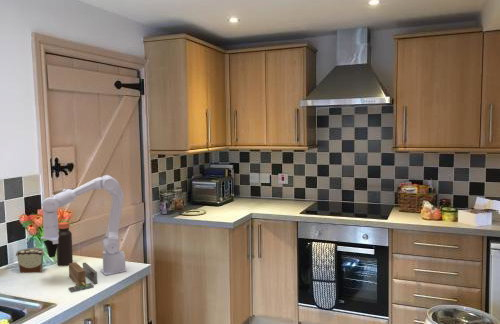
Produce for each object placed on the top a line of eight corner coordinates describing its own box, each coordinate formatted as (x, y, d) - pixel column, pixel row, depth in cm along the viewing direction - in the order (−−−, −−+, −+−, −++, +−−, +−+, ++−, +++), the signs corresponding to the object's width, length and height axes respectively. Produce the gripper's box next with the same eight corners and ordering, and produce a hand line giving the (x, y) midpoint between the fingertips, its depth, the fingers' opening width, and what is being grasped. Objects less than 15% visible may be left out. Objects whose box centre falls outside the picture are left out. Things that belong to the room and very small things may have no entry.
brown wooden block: (76, 275, 189) (75, 262, 189) (88, 287, 176) (88, 273, 175) (69, 276, 188) (68, 263, 187) (81, 288, 174) (80, 274, 173)
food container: (50, 268, 199) (49, 247, 198) (44, 272, 193) (43, 251, 192) (23, 268, 199) (22, 247, 198) (16, 273, 193) (15, 251, 192)
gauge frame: (85, 273, 193) (85, 262, 192) (99, 286, 178) (99, 274, 177) (58, 278, 186) (58, 267, 185) (71, 292, 171) (70, 280, 170)
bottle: (54, 264, 204) (52, 223, 202) (66, 260, 210) (65, 221, 208) (63, 267, 201) (61, 225, 199) (75, 263, 206) (74, 222, 205)
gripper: (36, 223, 185) (37, 254, 186) (44, 230, 174) (46, 262, 175) (54, 221, 189) (55, 251, 190) (63, 227, 178) (64, 259, 179)
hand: (52, 256), depth 183 cm, fingers closed
